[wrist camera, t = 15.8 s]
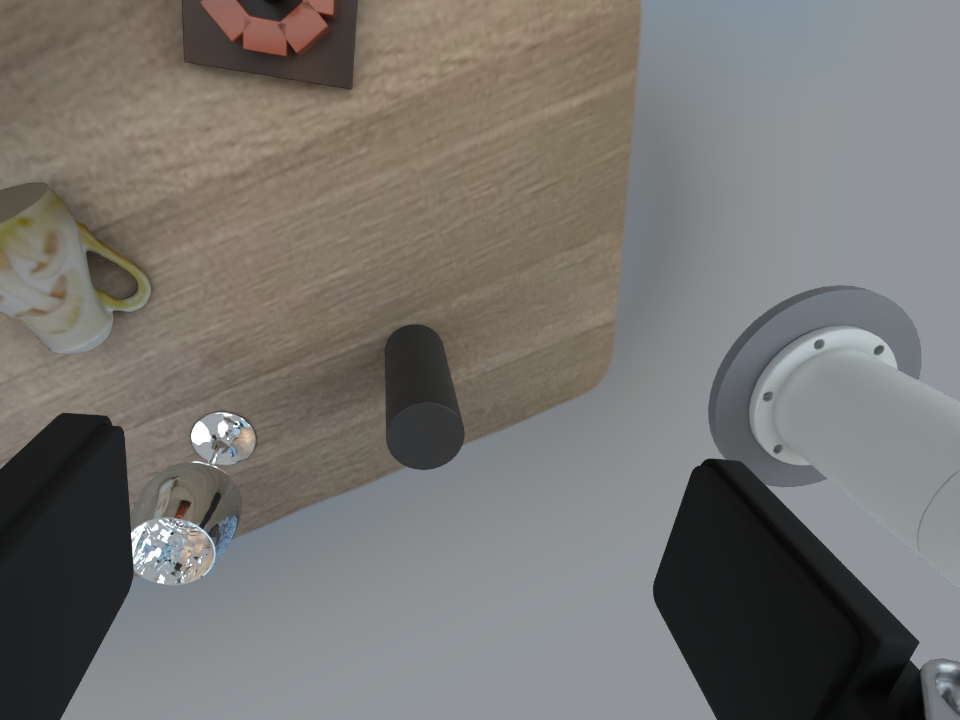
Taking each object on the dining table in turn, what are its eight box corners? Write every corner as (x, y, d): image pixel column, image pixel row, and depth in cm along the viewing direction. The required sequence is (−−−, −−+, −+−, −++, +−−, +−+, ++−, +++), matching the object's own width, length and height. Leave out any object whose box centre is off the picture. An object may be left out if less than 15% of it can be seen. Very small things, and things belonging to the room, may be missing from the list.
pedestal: (447, 326, 42) (469, 404, 32) (439, 380, 44) (459, 472, 33) (387, 321, 42) (389, 399, 31) (382, 375, 43) (382, 468, 32)
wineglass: (184, 471, 44) (118, 594, 33) (177, 402, 42) (105, 508, 31) (266, 472, 45) (229, 591, 34) (264, 404, 43) (223, 508, 32)
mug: (64, 361, 39) (-109, 360, 30) (48, 217, 40) (-129, 169, 30) (164, 345, 38) (17, 339, 28) (146, 197, 38) (-5, 139, 29)
